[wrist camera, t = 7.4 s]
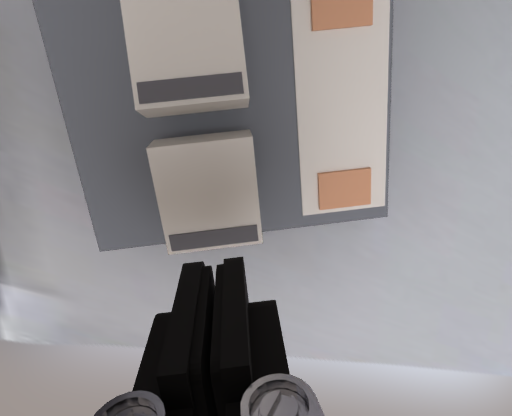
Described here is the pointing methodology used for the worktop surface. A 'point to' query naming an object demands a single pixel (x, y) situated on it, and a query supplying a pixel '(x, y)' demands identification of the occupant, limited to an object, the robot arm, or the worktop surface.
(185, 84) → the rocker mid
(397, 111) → the worktop surface
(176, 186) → the rocker
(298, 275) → the worktop surface
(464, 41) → the worktop surface
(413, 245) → the worktop surface
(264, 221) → the switch unit
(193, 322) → the robot arm
